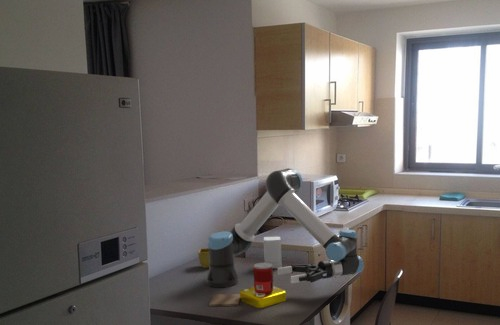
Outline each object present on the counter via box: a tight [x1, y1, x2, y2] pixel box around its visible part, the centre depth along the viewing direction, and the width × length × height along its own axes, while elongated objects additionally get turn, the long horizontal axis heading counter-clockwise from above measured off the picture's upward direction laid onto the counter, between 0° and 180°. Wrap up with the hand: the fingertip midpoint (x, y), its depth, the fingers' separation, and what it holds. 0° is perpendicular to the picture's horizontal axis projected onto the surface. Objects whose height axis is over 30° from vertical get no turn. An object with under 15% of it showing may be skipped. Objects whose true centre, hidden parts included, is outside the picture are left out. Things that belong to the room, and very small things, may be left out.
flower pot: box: [197, 247, 210, 269], centre depth 257 cm, size 9×9×9 cm
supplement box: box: [263, 236, 283, 269], centre depth 253 cm, size 9×9×15 cm
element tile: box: [239, 285, 287, 309], centre depth 203 cm, size 15×15×5 cm
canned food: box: [253, 262, 274, 294], centre depth 200 cm, size 8×8×11 cm
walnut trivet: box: [208, 293, 241, 307], centre depth 203 cm, size 12×12×1 cm
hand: (284, 275), depth 200 cm, fingers open, 13 cm apart
